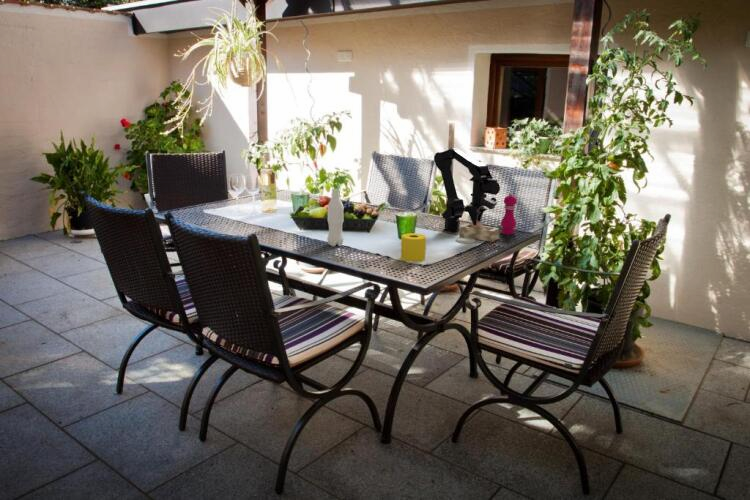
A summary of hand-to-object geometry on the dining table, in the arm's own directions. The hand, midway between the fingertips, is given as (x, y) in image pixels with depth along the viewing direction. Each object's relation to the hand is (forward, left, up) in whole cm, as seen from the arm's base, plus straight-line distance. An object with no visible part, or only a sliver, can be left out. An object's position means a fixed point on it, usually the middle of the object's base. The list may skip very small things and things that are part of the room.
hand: (476, 224), depth 288 cm
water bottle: (-46, -50, -6) cm, 68 cm away
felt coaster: (-1, -9, -6) cm, 11 cm away
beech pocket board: (+1, 0, -6) cm, 6 cm away
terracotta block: (+1, 0, -3) cm, 3 cm away
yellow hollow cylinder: (-8, -49, -6) cm, 50 cm away
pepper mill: (+10, +17, -6) cm, 21 cm away
